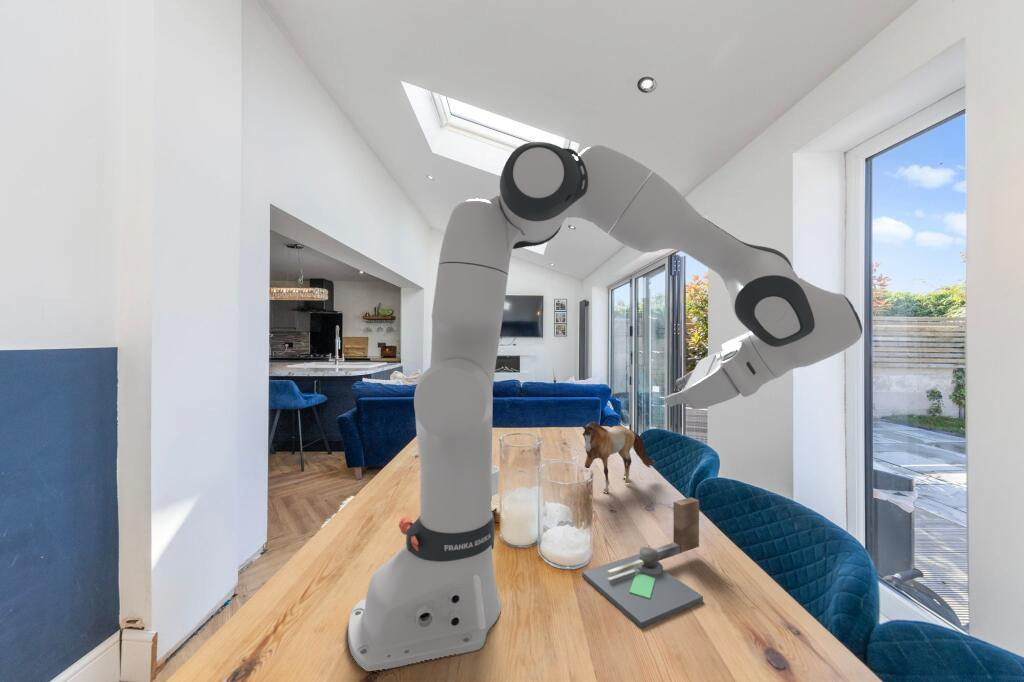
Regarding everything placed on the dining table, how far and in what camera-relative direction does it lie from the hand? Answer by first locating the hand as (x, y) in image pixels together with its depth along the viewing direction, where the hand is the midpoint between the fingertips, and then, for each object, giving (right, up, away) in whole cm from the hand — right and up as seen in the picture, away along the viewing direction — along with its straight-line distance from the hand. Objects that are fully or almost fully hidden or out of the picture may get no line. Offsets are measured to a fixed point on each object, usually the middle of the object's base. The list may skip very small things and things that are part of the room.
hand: (672, 393), depth 74 cm
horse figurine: (0, -33, +36) cm, 49 cm away
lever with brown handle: (-5, -31, -3) cm, 31 cm away
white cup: (-38, -32, +22) cm, 55 cm away
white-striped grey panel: (-9, -32, -9) cm, 34 cm away
